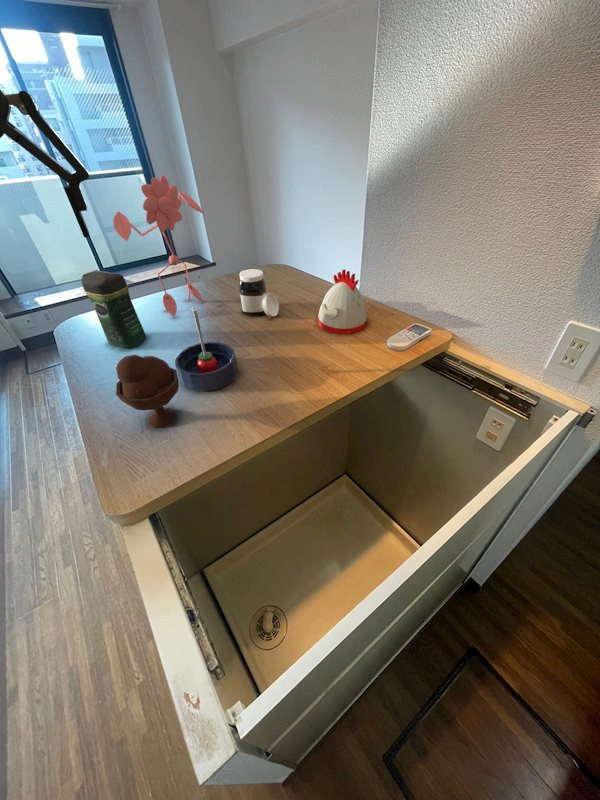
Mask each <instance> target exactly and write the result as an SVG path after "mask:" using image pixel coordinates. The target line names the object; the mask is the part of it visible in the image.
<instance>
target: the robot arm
mask: <svg viewBox="0 0 600 800" xmlns="http://www.w3.org/2000/svg"><path fill="white" fill-rule="evenodd" d="M12 107H15V108H16V109H17V110H18V111H19V112H20V113H21V114H22V115H24V116H27V117H28V116H29V118H30V119H31V121H32V122H33V123H34V124H35V126H36V127H37V128H38V129H39V130H40V132H42V135H44V136H45V137H46V139H47V140H48V141H49V142H50V143H51V145H52V146H53V147H54V148H55V149H56V151H58V153H59V154H60V155H61V156H62V158H64V160H66V161H67V163H68V164H69V165H70V167H71V168H72V169H73V170H74V171H73V172H71V171H70V170H68V169H67V167H65V166H64V165H63V164H61V163H60V162H59V160H58V161H57V160H56V159H55V158H54V157H53V156H51V155H50V154H49V153H48V152H47V151H46V150H44V149H43V148H42V147H40V146H39V145H38V144H37V143H36V142H34V141H33V140H32V139H30V137H28V136H27V135H26V134H25V133H24V132H23V131H22V130H20V129H19V128H18V127H17V126H16V125H14V124H13V123H12V122H10V121H9V120H10V116H11V111H12ZM5 136H6V137H8V138H9V139H10V140H12V141H13V142H15V143H16V144H18V146H20V147H21V148H23V149H24V150H25V151H26V152H28V153H29V154H30V155H32V156H33V157H34V158H35V159H37V160H38V161H39V162H41V163H42V164H43V165H44V166H45V167H46V168H48V169H49V170H50V171H52V172H53V173H54V174H56V175H57V176H58V177H59V178H61V179H62V180H63V181H64V182H65V183H67V184H64V185H63V189H64V192H65V195H66V196H67V199H68V202H69V205H70V207H71V210H72V211H73V214H74V216H75V219H76V221H77V224H78V227H79V228H80V231H81V233H82V236H83V238H90V232H89V229H88V226H87V224H86V220H85V218H84V216H83V213H82V212H86V211H88V205H87V201H86V199H85V196H84V194H83V191H82V189H81V186H80V184H81V183H82V182H84V181H87V180H88V179H89V178H90V172H89V171H88V169H87V167H86V166H85V165H84V164H83V163H82V162H81V160H80V159H79V158H78V157H77V156H76V155H75V154H74V152H73V151H72V150H71V149H70V148H69V146H68V145H67V144H66V142H65V141H64V140H63V139H62V138H61V137H60V136H59V134H58V133H57V132H56V131H55V130H54V128H53V127H52V126H51V125H50V123H49V122H48V120H46V119H45V117H44V116H43V115H42V114H41V112H40V109H39V107H38V105H37V103H36V101H35V99H34V97H33V96H32V94H30V92H28V91H26V90H20V91H18V92H17V93H9V94H8V93H7V94H5V93H4V92H3V91H2V90H1V89H0V139H2V138H4V137H5Z"/></svg>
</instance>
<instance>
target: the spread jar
mask: <svg viewBox="0 0 600 800" xmlns="http://www.w3.org/2000/svg"><path fill="white" fill-rule="evenodd" d="M239 280H240V281H239V286H238V287H239V294H240V302H241V309H242V311H243V314H245V315H248V316H250V317H251V316H252V317H254V316H261V315H263V314H265V315H266V316H267V317H268V318H273V317H276V316H278V314H279V312H280V311H279V310H280V305H279V300H278V298H277V296H276V295H275V294H274V293H273V292H269V293H268V292H267V286H266V281H265V279H264V272H263V271H262V270H261V269H258V268H249V269H245V270H241V271H240V272H239Z"/></svg>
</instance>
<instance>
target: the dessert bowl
mask: <svg viewBox="0 0 600 800" xmlns="http://www.w3.org/2000/svg"><path fill="white" fill-rule="evenodd" d="M204 346H205V350H206V352H210V353H212V356H214V357H215V358H216V360H217V362H218V367H219V369H218V370H215V371H213V372H207V373H199V371H198V367H197V361H198V359H199V357H198V356H199V354H200V353H203V350H202V346H201V342H199V343H196V344H193V345H191V346H190V345H189V346H188V347H186V348H185V349H182V350H181V351H180V352H179V353H178V354H177V356H176V357H175V359H174V364H175V365H174V366H175V370H176V371H177V376H178V380H179V383H181V384H182V385H183V387H185V388H187V389H190V390H192V391H197V392H199V391H202V392H208V391H213V390H218V389H220V388H222V387H224V386H227V385H228V384H230V383H231V382H232V381H234V379H236V377H237V374H238V373H239V368H238V361H237V356H236V352H235V349H234V348H232V347H231V345H229V344H227V343H223V342H221V341H220V342H219V341H206V342H204Z"/></svg>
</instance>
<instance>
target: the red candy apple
mask: <svg viewBox="0 0 600 800" xmlns="http://www.w3.org/2000/svg"><path fill="white" fill-rule="evenodd" d="M191 311H192V315H193V321H194V324H195V327H196V330H197V333H198V338H199V343H201V346H202V350H203V353H200V354H199V356H198V357H199V359H198V361H197V367H198V371H199V373H207V372H213V371H215V370H218V369H219V367H218V362H217V360H216V358H215V357H214V356H212V353H210V352H206V350H205V346H204V343H205V342H204V338H203V334H202V329H201V324H200V319H199V316H198V310H197V309H196V307H193V306H192V307H191Z"/></svg>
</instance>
